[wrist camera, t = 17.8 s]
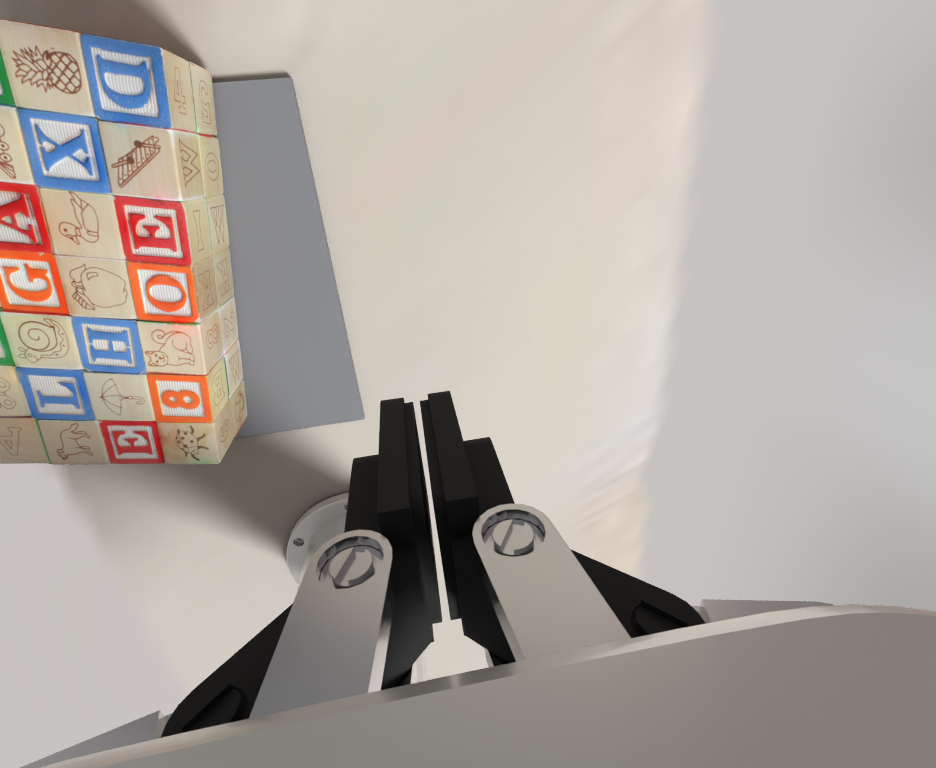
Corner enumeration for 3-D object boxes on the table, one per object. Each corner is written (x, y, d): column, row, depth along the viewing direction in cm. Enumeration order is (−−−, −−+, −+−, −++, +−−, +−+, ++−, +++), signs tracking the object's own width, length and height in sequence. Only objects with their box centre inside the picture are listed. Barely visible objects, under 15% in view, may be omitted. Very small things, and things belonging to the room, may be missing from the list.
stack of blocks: (216, 71, 25) (-58, 27, 22) (164, 44, 19) (-208, -18, 17) (248, 417, 33) (54, 411, 31) (219, 468, 28) (-19, 465, 26)
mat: (364, 416, 35) (364, 419, 35) (146, 448, 34) (143, 452, 33) (292, 78, 26) (290, 77, 25) (-21, 101, 24) (-27, 100, 24)
